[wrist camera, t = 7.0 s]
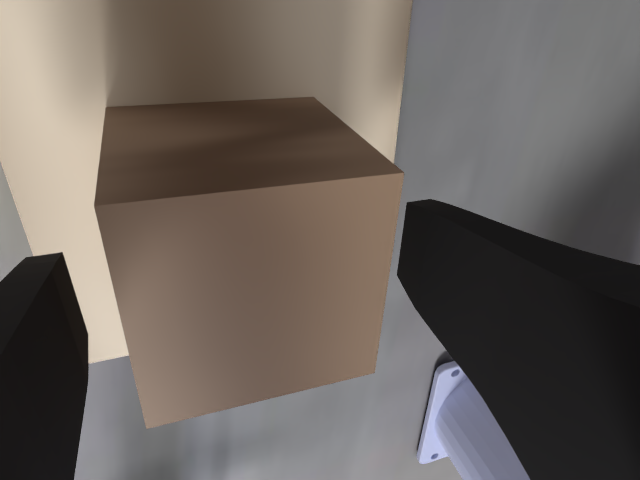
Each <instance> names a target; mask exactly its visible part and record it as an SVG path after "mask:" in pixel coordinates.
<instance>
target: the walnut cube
mask: <svg viewBox="0 0 640 480" xmlns="http://www.w3.org/2000/svg"><path fill="white" fill-rule="evenodd" d="M403 177H404V172H403V171H402V170H400V169H399V168H398V167H397V166H396V165H394V164H393V163H392V162H391V161H390V160H388V159H387V158H386V157H385V156H384V155H382V154H381V153H380V152H379V151H378V150H377V149H375V148H374V147H373V146H372V145H371V144H369V143H368V142H367V141H366V140H365V139H363V138H362V137H361V136H360V135H359V134H357V133H356V132H355V131H354V130H353V129H351V128H350V127H349V126H348V125H347V124H345V123H344V122H343V121H342V120H341V119H340V118H338V117H337V116H336V115H335V114H334V113H332V112H331V111H330V110H329V109H328V108H326V107H325V106H324V105H323V104H322V103H320V102H319V101H318V100H317V99H316V98H314V97H298V98H278V99H258V100H238V101H218V102H198V103H178V104H158V105H137V106H117V107H106V108H105V117H104V125H103V133H102V142H101V150H100V159H99V167H98V176H97V184H96V193H95V201H94V209H95V213H96V217H97V221H98V225H99V230H100V234H101V238H102V242H103V247H104V251H105V255H106V259H107V264H108V268H109V272H110V276H111V281H112V285H113V289H114V293H115V298H116V302H117V306H118V310H119V314H120V319H121V323H122V327H123V331H124V336H125V340H126V344H127V348H128V353H129V357H130V361H131V365H132V370H133V374H134V378H135V382H136V387H137V391H138V395H139V399H140V403H141V408H142V412H143V416H144V420H145V425H146V429H148V428H152V427H156V426H161V425H165V424H169V423H173V422H177V421H181V420H185V419H189V418H193V417H197V416H201V415H205V414H209V413H213V412H217V411H221V410H226V409H230V408H234V407H238V406H242V405H246V404H250V403H254V402H258V401H262V400H266V399H270V398H274V397H278V396H282V395H286V394H291V393H295V392H299V391H303V390H307V389H311V388H315V387H319V386H323V385H327V384H331V383H335V382H339V381H343V380H347V379H351V378H356V377H360V376H364V375H368V374H372V373H375V367H376V360H377V353H378V347H379V340H380V333H381V326H382V319H383V313H384V306H385V299H386V292H387V286H388V279H389V272H390V265H391V259H392V252H393V245H394V238H395V231H396V225H397V218H398V211H399V204H400V198H401V191H402V184H403Z"/></svg>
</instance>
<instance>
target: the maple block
mask: <svg viewBox="0 0 640 480" xmlns="http://www.w3.org/2000/svg"><path fill="white" fill-rule="evenodd" d="M412 2H413V0H0V162H1V164H2V167H3V170H4V173H5V176H6V179H7V182H8V184H9V187H10V190H11V193H12V196H13V199H14V202H15V204H16V207H17V210H18V213H19V216H20V219H21V221H22V224H23V227H24V230H25V233H26V236H27V239H28V241H29V244H30V247H31V250H32V253H33V256H39V255H46V254H53V253H60V252H63V255H64V258H65V261H66V265H67V268H68V271H69V274H70V277H71V281H72V284H73V287H74V290H75V293H76V297H77V300H78V303H79V306H80V309H81V313H82V316H83V319H84V322H85V325H86V329H87V332H88V364H90V363H94V362H99V361H104V360H109V359H113V358H118V357H123V356H128V355H129V353H128V348H127V344H126V340H125V336H124V331H123V327H122V323H121V319H120V314H119V310H118V306H117V302H116V298H115V293H114V289H113V285H112V281H111V276H110V272H109V268H108V264H107V259H106V255H105V251H104V247H103V242H102V238H101V234H100V230H99V225H98V221H97V217H96V213H95V209H94V201H95V193H96V184H97V176H98V167H99V159H100V150H101V142H102V133H103V125H104V117H105V108H106V107H117V106H137V105H158V104H178V103H198V102H218V101H238V100H258V99H278V98H298V97H314V98H316V99H317V100H318V101H319V102H320V103H322V104H323V105H324V106H325V107H326V108H328V109H329V110H330V111H331V112H332V113H334V114H335V115H336V116H337V117H338V118H340V119H341V120H342V121H343V122H344V123H345V124H347V125H348V126H349V127H350V128H351V129H353V130H354V131H355V132H356V133H357V134H359V135H360V136H361V137H362V138H363V139H365V140H366V141H367V142H368V143H369V144H371V145H372V146H373V147H374V148H375V149H377V150H378V151H379V152H380V153H381V154H382V155H384V156H385V157H386V158H387V159H388V160H390V161H391V162H392V163H393V164H394V156H395V148H396V139H397V131H398V122H399V113H400V105H401V96H402V88H403V79H404V71H405V62H406V53H407V45H408V36H409V28H410V19H411V11H412Z"/></svg>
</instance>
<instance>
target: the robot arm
mask: <svg viewBox="0 0 640 480" xmlns="http://www.w3.org/2000/svg"><path fill="white" fill-rule="evenodd" d="M397 276H398V278H399V280H400V282H401V284H402V285H403V287H404V289H405V291H406V293H407V295H408V297H409V298H410V300H411V302H412V304H413V305H414V307H415V309H416V310H417V311H418V313H419V314H420V316H421V317H422V318H423V320H424V321H425V322H426V324H427V325H428V326H429V328H430V329H431V330H432V332H433V333H434V334H435V336H436V337H437V338H438V339H439V341H440V342H441V343H442V345H443V346H444V347H445V349H446V350H447V351H448V352H449V354H450V355H451V356H452V358H453V359H454V360H455V361H452V362H448V363H445V364H442V365H440V366H439V367H438V368H437V369H436V371H435V375H434V380H433V384H432V389H431V393H430V398H429V402H428V407H427V411H426V416H425V421H424V425H423V430H422V434H421V439H420V443H419V448H418V452H417V459H418V461H419V462H420V463H421V464H426V463H429V462H432V461H435V460H438V459H441V458H444V457H447V456H449V458H450V459H451V461H452V463H453V464H454V466H455V467H456V469H457V471H458V472H459V474H460V475H461V477H462V479H463V480H640V265H636V264H631V263H627V262H623V261H619V260H615V259H611V258H607V257H603V256H600V255H596V254H592V253H588V252H585V251H581V250H578V249H575V248H571V247H568V246H565V245H562V244H559V243H556V242H553V241H550V240H547V239H544V238H541V237H538V236H535V235H532V234H529V233H526V232H523V231H521V230H518V229H515V228H512V227H510V226H507V225H504V224H502V223H499V222H496V221H494V220H491V219H488V218H486V217H483V216H480V215H478V214H475V213H472V212H470V211H467V210H464V209H462V208H459V207H456V206H453V205H450V204H447V203H443V202H440V201H436V200H432V199H428V200H421V201H414V202H407V205H406V213H405V220H404V227H403V234H402V242H401V249H400V256H399V264H398V271H397ZM87 385H88V332H87V329H86V325H85V322H84V319H83V316H82V313H81V309H80V306H79V303H78V300H77V297H76V293H75V290H74V287H73V284H72V281H71V277H70V274H69V271H68V268H67V265H66V261H65V258H64V255H63V252H60V253H53V254H46V255H39V256H32V257H26V258H25V259H24V260H22V261H21V262H20V263H19V264H18V265H17V266H16V267H15V268H14V269H13V270H12V271H11V272H10V273H9V274H8V275H7V276H6V277H5V278H4V279H3V280H2V281H1V282H0V480H74V474H75V468H76V461H77V454H78V448H79V441H80V434H81V428H82V421H83V414H84V407H85V400H86V393H87Z"/></svg>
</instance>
